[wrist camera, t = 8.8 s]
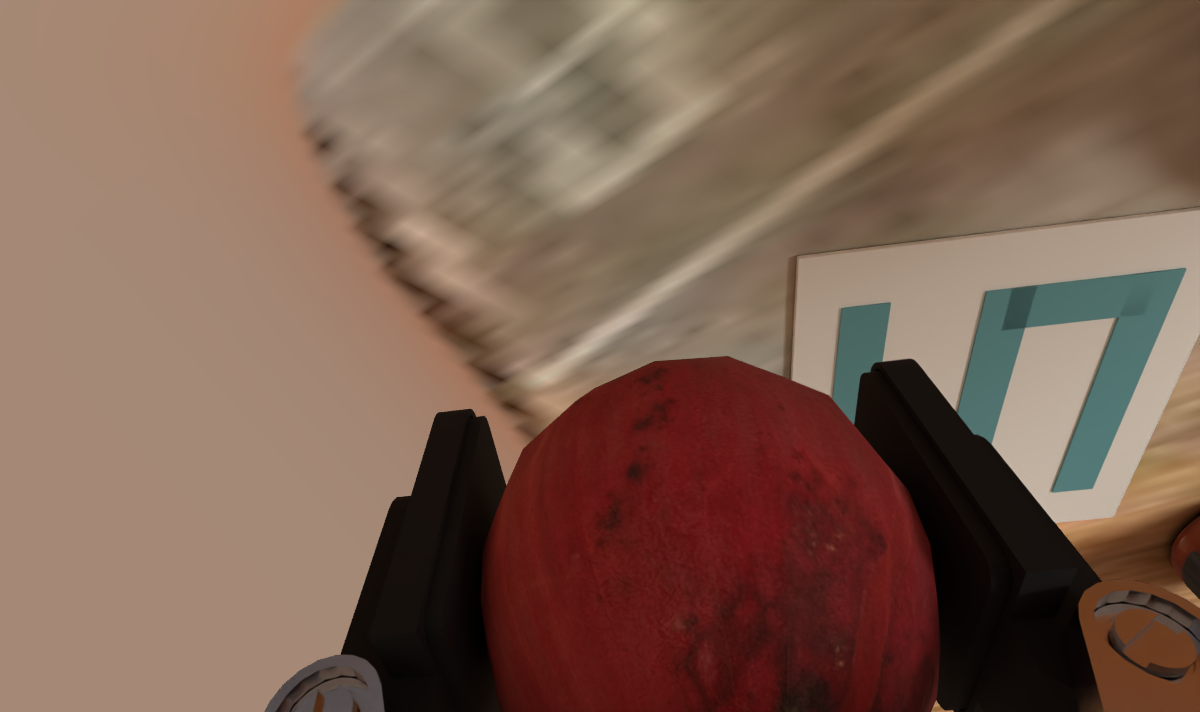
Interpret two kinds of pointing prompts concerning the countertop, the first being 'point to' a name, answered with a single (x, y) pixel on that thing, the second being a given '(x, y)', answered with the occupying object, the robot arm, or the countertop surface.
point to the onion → (708, 556)
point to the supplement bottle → (1188, 556)
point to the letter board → (1021, 339)
